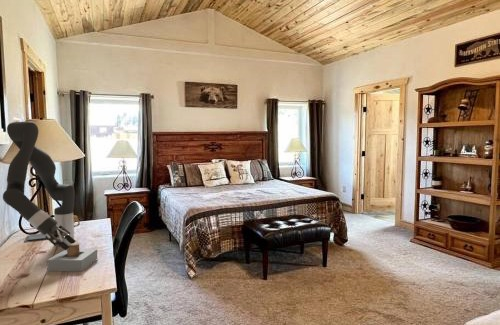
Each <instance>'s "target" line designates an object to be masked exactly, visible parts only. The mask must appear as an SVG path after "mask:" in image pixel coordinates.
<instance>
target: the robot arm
mask: <svg viewBox="0 0 500 325" xmlns="http://www.w3.org/2000/svg"><path fill="white" fill-rule="evenodd" d="M6 132H7V135H8V137H9V138H10V140H11V141H12V143H14V145H16V147H17V148H18V149H19V150H18V152H17V153H16V155H15V156H14V157H13V158H12V160H11V161H10V163H9V166H8V169H7V176H6V190H5V191H4V192H3V194H2V200H3V202H4V203H5V204H6V205H7V206H10V207H11V208H12V209H14V210H15V211H16V212H18V214H19V215H20V216H21V217H22V218H24V220H26V221H27V222H28V223H29V224H30V225H31V227H33V228H35V230H36V231H38V232H39V234H43V235H45V234H47V235H46V236H45V238H47V239H48V240H47V241H49V243H51V245H53V246H54V247H55V246H59V247H61V248H62V249H63V251H64V250H67V249H68V248H69V246H68V244H72V243H77V242H76V239H75V224H74V225H73V215H74V208H75V199H76V194H75V192H76V191H75V188H74V186H73V184H72V185H71V184H64V183H62V184H60V183H59V182H58V181H57V179H56V178H55V175H56V170H57V167H56V164H55V162H54V161H53V159H52V157H51V156H50V155H49V154H48V152H46V151H44V150H43V149H41V148H39V147H37V146H36V143H37V141H38V138H39V127H38V125H37V124H36V122H34V121H31V120H30V121H29V120H28V121H27V120H26V121H14V122H10V123H8V124H7V126H6ZM29 164H30V165H31V167H32V169H33V170H34V171H35V173H36V174H37V176H38V177H39V178H40V180H41V182H42V183H43V185H44V187H45V189H46V191H47V193H48V194H49V197H50V198H51V199H52V200H53V201H55V202H61V205H60V206H57V207H55V208H54V209H53V213H54V214H53V215H54V218H53V217H52V216H51V215H50V214H48V213H47V212H46V211H44V209H41V208H40V207H39V206H38V205H37V204H35V203H34V202H33V201H31V199H29V197H27V196H26V194H25V188H26V187H25V184H26V180H27V175H28V167H29Z"/></svg>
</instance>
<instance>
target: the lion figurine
mask: <svg viewBox="0 0 500 325" xmlns="http://www.w3.org/2000/svg"><path fill="white" fill-rule="evenodd" d="M79 220H80V219H79V217H78V215H74V214H73V225H74V226H75V224H76V222H77V225H81V222H80V221H79Z"/></svg>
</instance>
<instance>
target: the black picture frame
mask: <svg viewBox="0 0 500 325" xmlns="http://www.w3.org/2000/svg"><path fill="white" fill-rule="evenodd" d="M46 235H47V234H45V235H43V234H42V233H37V234H36V233H35V234H29V235H27V236H26V237H25V239H24V240H23V243H25V244H26V243H33V242H42V241H49V240H48V239H47V238H45V236H46Z"/></svg>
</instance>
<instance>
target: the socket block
mask: <svg viewBox="0 0 500 325" xmlns="http://www.w3.org/2000/svg"><path fill="white" fill-rule="evenodd" d="M79 252H80V255H79V256H78V257H67V250H64V249H63V250H62V251H61V252H59V253H57V254H54V255H53V256H52V257H50V258H47V260H46V262H47V266H46V267H47V272H83V271H84V270H85V269H86V268H88V267H90V266H91V265H92V264H93V263H95V262H96V261H97V260H98V248H97V249H96V248H79ZM96 259H97V260H96ZM95 260H96V261H95ZM92 262H93V263H92ZM91 263H92V264H91ZM90 264H91V265H90Z"/></svg>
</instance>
